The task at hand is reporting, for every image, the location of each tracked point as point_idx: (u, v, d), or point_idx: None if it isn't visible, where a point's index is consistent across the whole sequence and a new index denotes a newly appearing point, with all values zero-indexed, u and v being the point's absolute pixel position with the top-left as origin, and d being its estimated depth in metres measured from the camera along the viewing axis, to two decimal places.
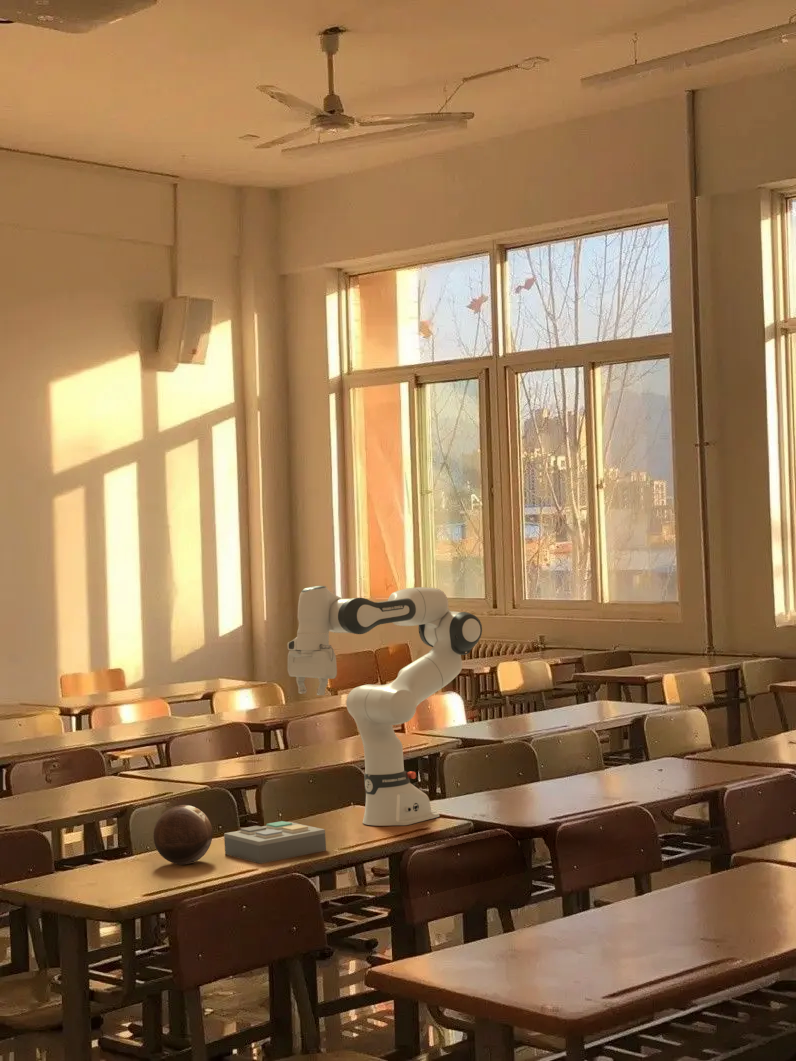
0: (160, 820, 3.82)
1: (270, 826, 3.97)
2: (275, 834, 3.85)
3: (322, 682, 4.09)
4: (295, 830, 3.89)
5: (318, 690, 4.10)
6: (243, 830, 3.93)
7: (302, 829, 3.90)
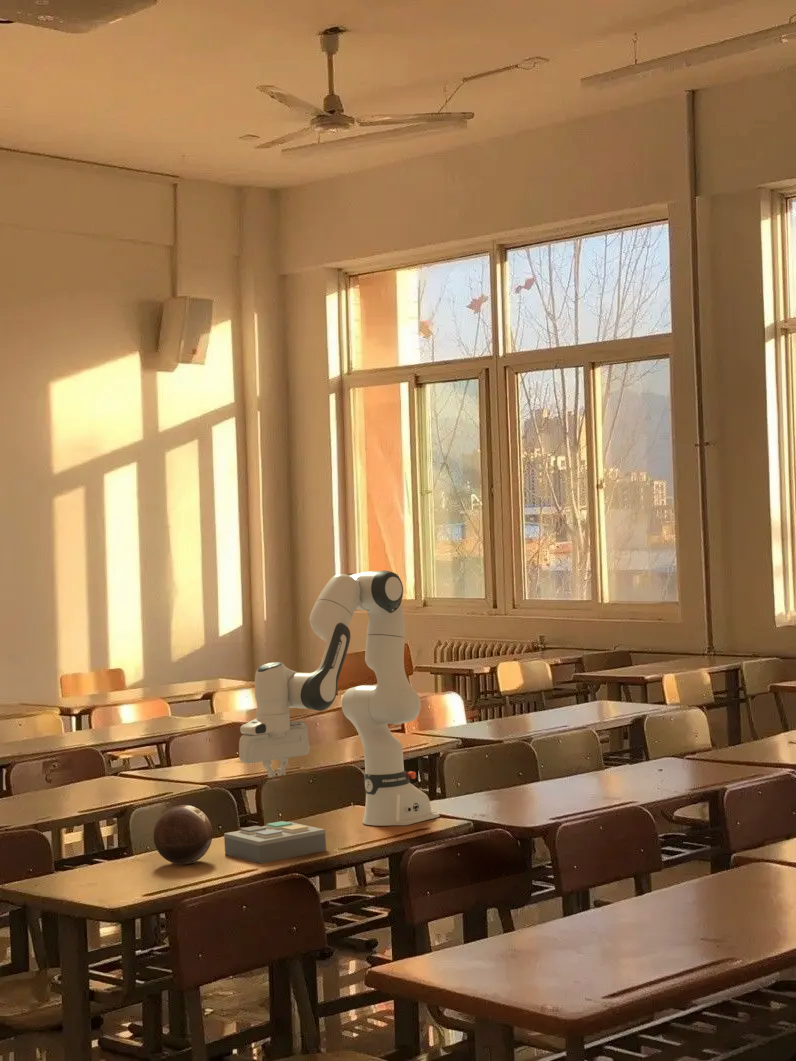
0: (160, 820, 3.82)
1: (270, 826, 3.97)
2: (275, 834, 3.85)
3: None
4: (295, 830, 3.89)
5: (283, 770, 3.99)
6: (243, 830, 3.93)
7: (302, 829, 3.90)
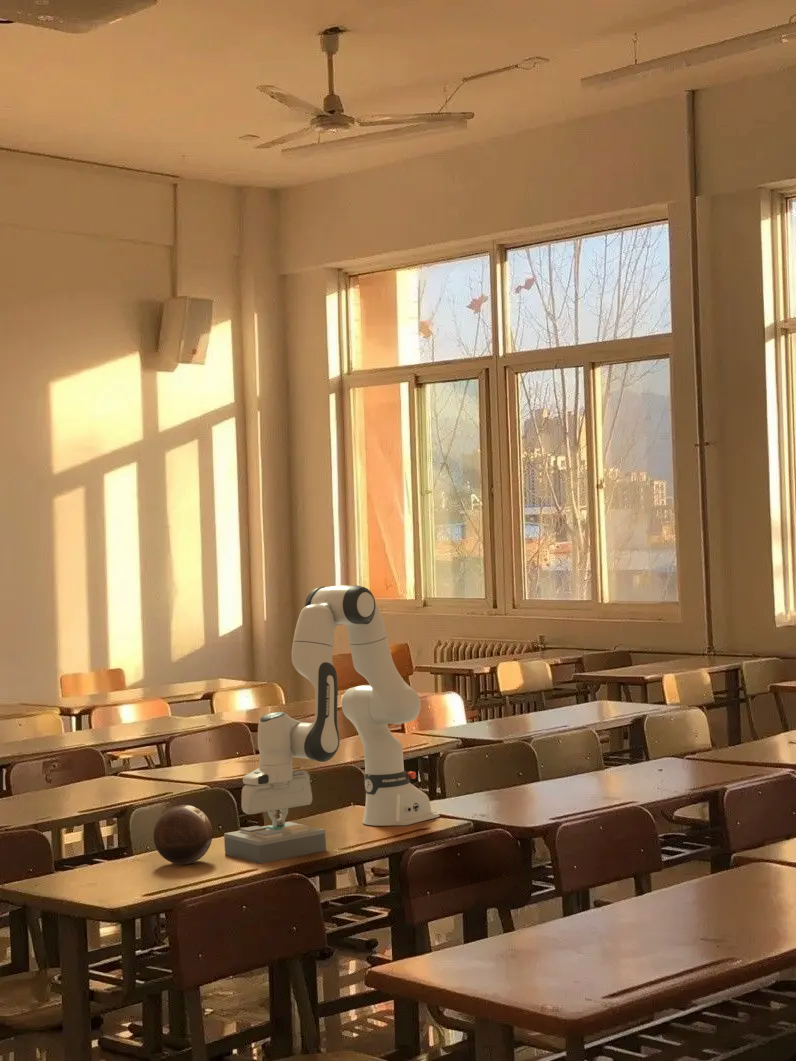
0: (160, 820, 3.82)
1: None
2: (275, 834, 3.85)
3: None
4: (295, 830, 3.89)
5: (283, 821, 3.98)
6: (243, 830, 3.93)
7: (302, 829, 3.90)
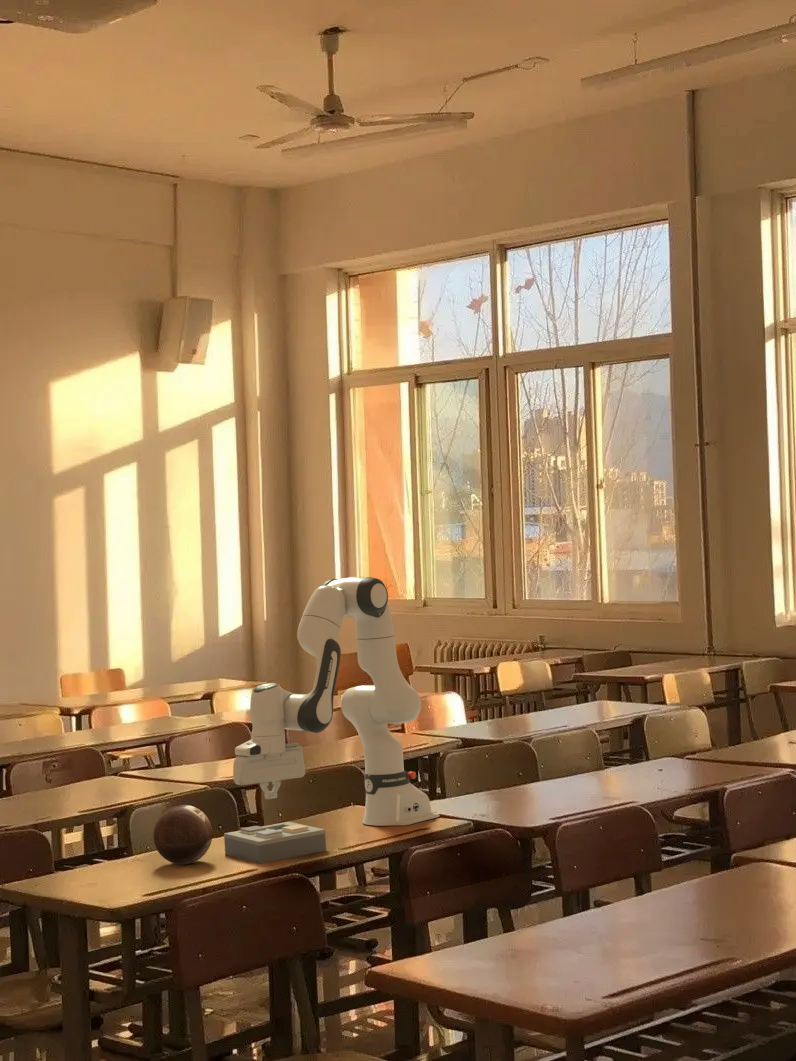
0: (160, 820, 3.82)
1: None
2: (275, 834, 3.85)
3: None
4: (295, 830, 3.89)
5: (275, 793, 3.94)
6: (243, 830, 3.93)
7: (302, 829, 3.90)
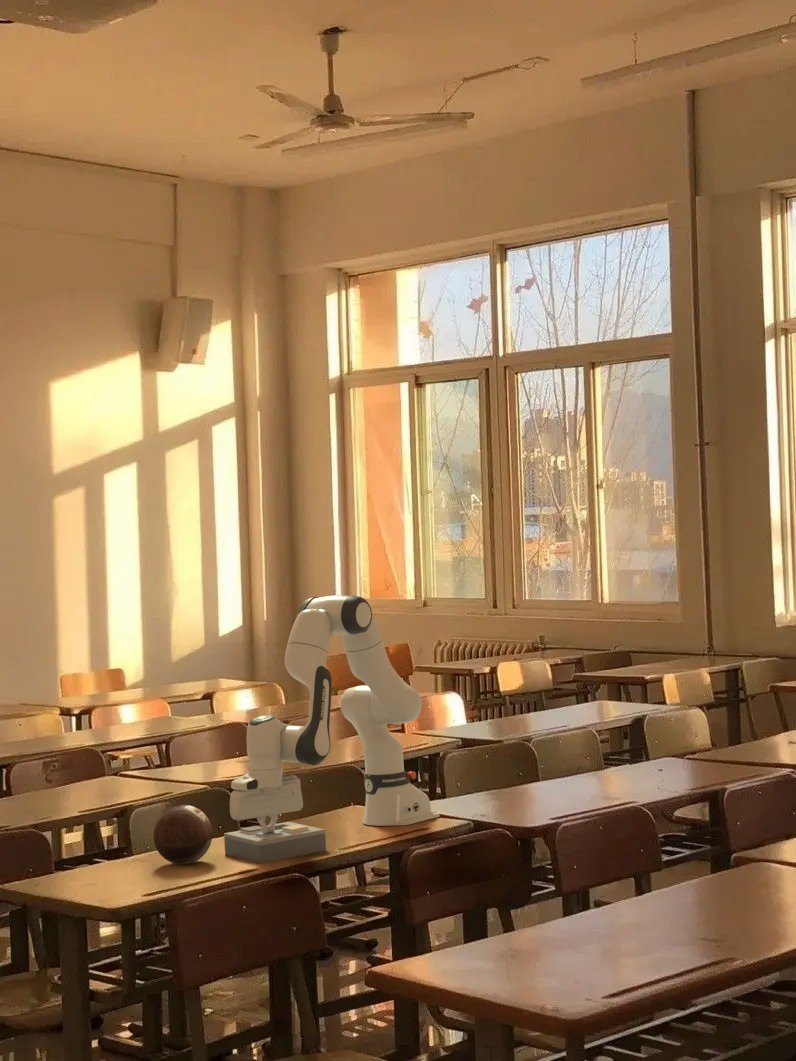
0: (160, 820, 3.82)
1: None
2: (275, 835, 3.85)
3: None
4: (295, 830, 3.89)
5: (272, 827, 3.87)
6: (243, 830, 3.93)
7: (302, 829, 3.90)
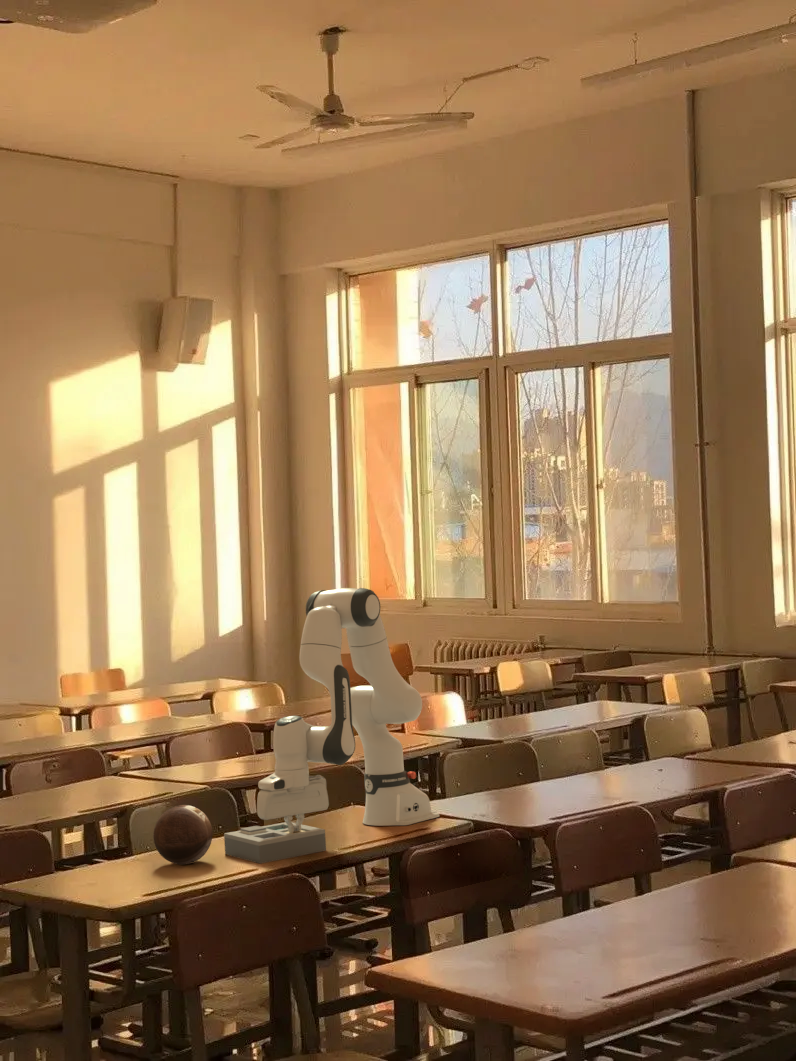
0: (160, 820, 3.82)
1: None
2: None
3: None
4: None
5: (299, 827, 3.91)
6: (243, 830, 3.93)
7: None
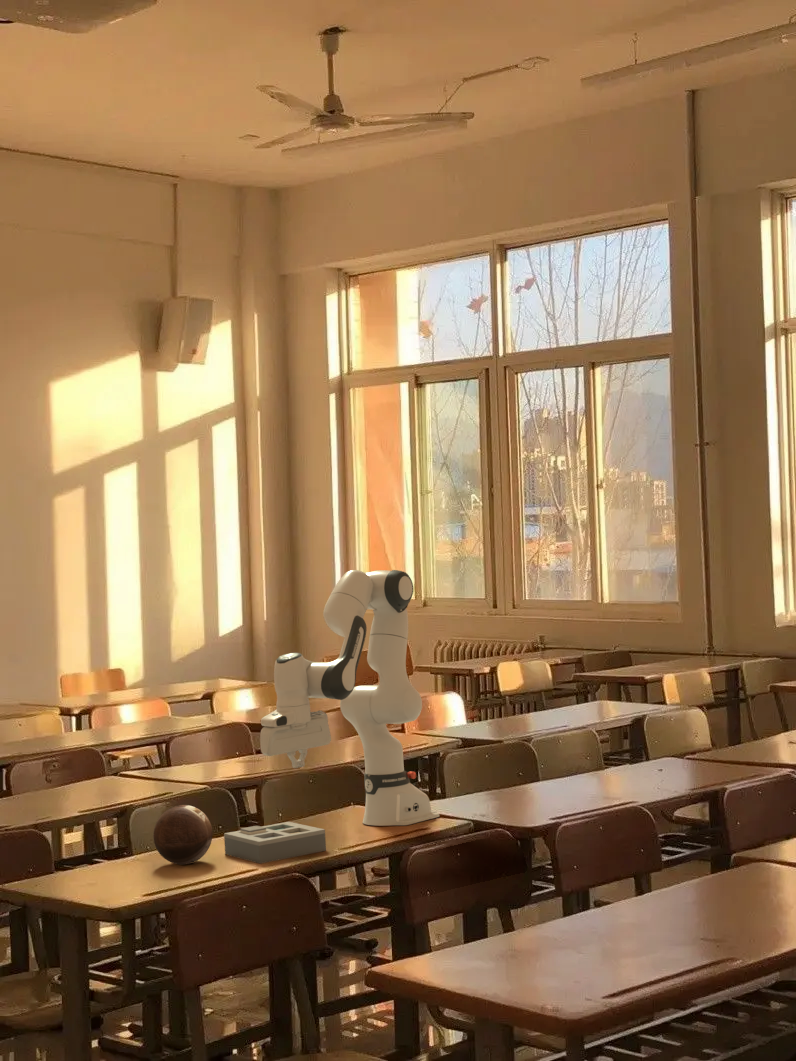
0: (160, 820, 3.82)
1: None
2: None
3: None
4: None
5: (302, 762, 3.96)
6: (243, 830, 3.93)
7: None
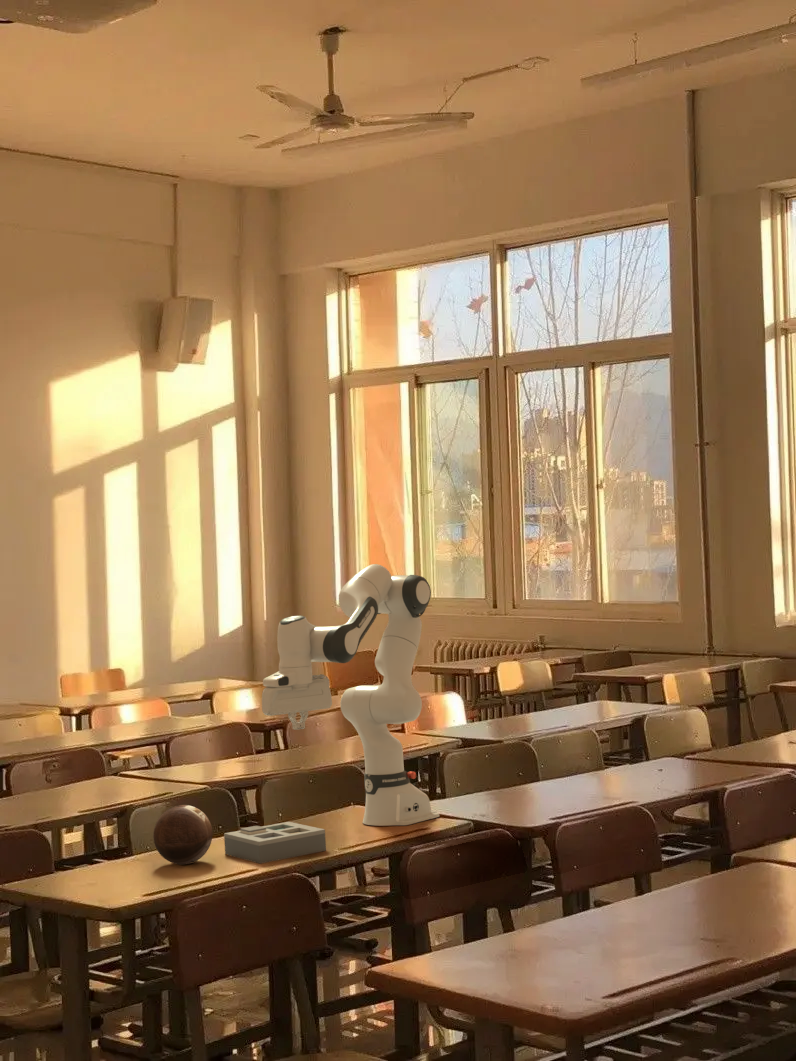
0: (160, 820, 3.82)
1: None
2: None
3: None
4: None
5: (303, 724, 4.00)
6: (243, 830, 3.93)
7: None
